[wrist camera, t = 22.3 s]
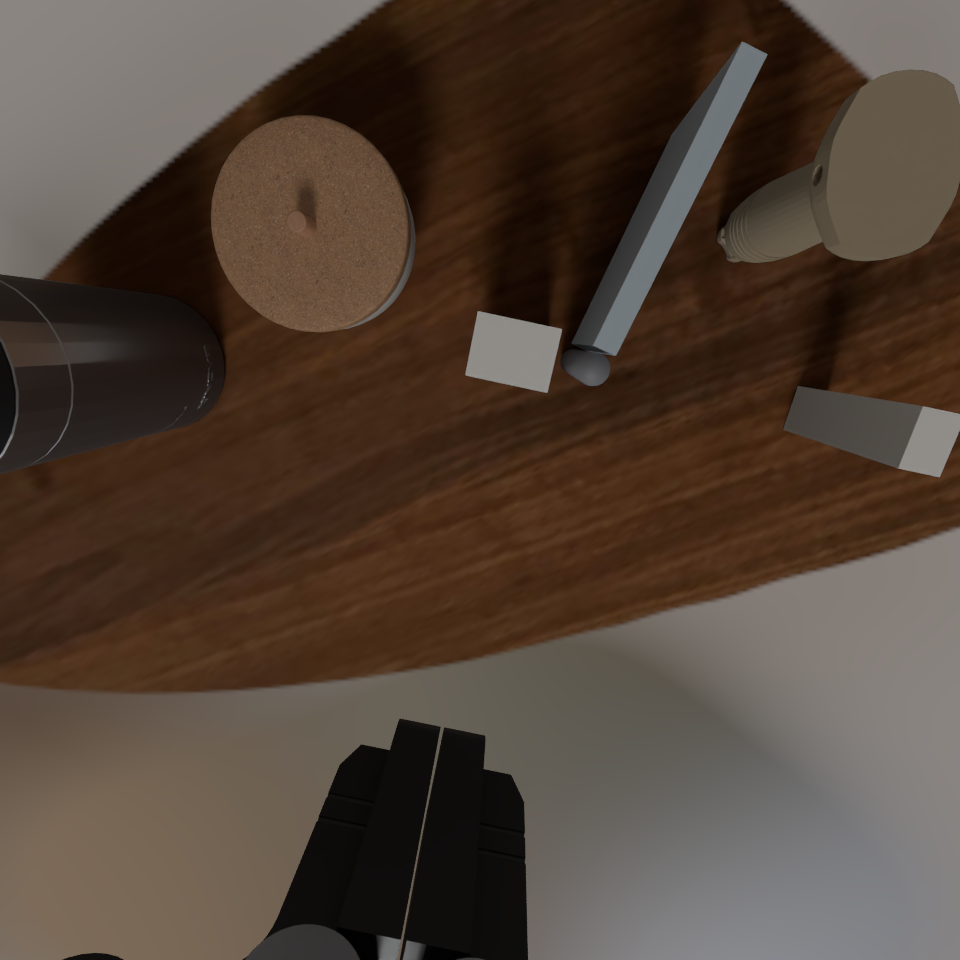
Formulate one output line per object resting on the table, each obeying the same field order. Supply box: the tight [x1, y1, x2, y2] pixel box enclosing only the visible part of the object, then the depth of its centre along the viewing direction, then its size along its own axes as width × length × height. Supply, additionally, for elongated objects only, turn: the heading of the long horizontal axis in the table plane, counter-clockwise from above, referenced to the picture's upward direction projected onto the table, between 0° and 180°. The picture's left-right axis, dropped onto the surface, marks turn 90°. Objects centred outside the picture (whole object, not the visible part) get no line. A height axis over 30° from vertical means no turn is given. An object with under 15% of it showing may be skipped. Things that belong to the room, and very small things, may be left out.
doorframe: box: [465, 311, 960, 477], centre depth 33 cm, size 23×3×12 cm, turn 78°
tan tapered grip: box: [717, 70, 960, 263], centre depth 29 cm, size 5×6×15 cm
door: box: [561, 42, 768, 386], centre depth 31 cm, size 15×2×11 cm, turn 156°
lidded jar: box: [211, 115, 416, 332], centre depth 33 cm, size 11×11×9 cm
